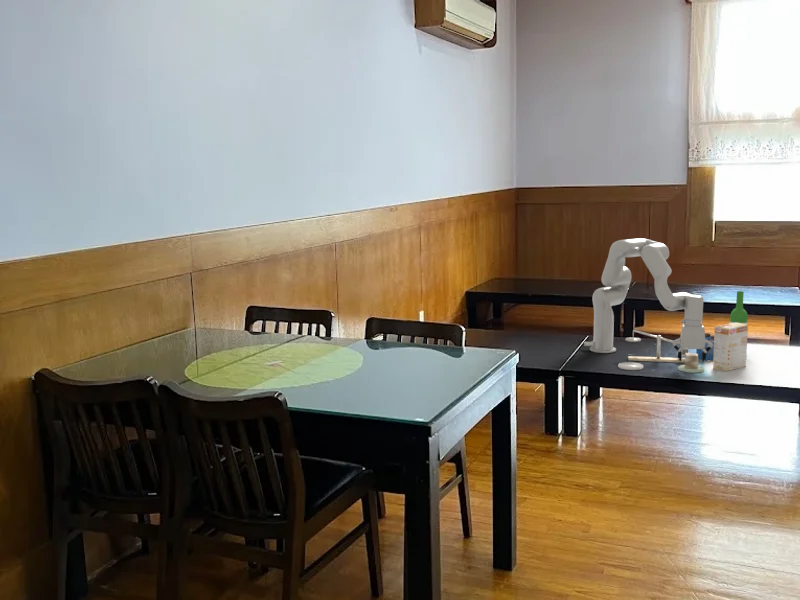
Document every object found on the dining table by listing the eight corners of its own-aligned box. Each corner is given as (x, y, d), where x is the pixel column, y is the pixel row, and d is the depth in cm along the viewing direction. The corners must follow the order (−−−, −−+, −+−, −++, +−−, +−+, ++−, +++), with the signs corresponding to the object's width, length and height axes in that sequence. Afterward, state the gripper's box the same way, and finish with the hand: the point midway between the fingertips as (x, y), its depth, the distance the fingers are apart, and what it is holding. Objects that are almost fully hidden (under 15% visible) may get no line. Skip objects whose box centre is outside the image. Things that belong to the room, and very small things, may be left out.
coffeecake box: (732, 363, 367) (734, 322, 363) (746, 366, 361) (749, 324, 358) (711, 368, 359) (714, 325, 356) (725, 371, 353) (728, 328, 350)
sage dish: (679, 372, 353) (679, 370, 353) (677, 366, 364) (677, 364, 363) (705, 373, 350) (705, 371, 350) (702, 367, 361) (702, 365, 361)
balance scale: (625, 361, 375) (625, 330, 372) (624, 357, 381) (625, 327, 379) (693, 363, 368) (694, 332, 365) (691, 360, 374) (692, 329, 372)
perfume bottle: (705, 356, 381) (706, 332, 379) (715, 359, 375) (717, 334, 374) (696, 358, 378) (697, 333, 376) (706, 360, 373) (707, 335, 371)
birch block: (685, 368, 355) (686, 355, 354) (684, 366, 360) (685, 353, 359) (697, 369, 354) (698, 356, 353) (696, 366, 359) (697, 353, 358)
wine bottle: (742, 351, 391) (746, 290, 386) (748, 354, 383) (751, 292, 378) (726, 351, 392) (729, 290, 387) (731, 354, 384) (734, 292, 379)
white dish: (618, 369, 359) (618, 367, 359) (617, 363, 370) (617, 361, 370) (643, 370, 357) (644, 368, 356) (642, 364, 367) (642, 362, 367)
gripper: (673, 323, 352) (671, 361, 355) (715, 325, 348) (713, 363, 351) (671, 320, 359) (670, 357, 362) (712, 321, 355) (711, 359, 358)
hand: (691, 360), depth 356 cm, fingers open, 9 cm apart
